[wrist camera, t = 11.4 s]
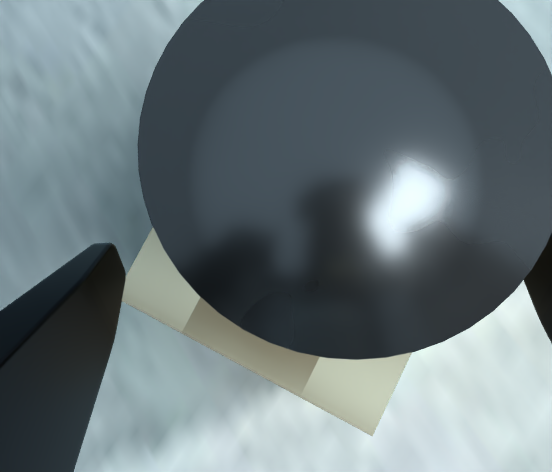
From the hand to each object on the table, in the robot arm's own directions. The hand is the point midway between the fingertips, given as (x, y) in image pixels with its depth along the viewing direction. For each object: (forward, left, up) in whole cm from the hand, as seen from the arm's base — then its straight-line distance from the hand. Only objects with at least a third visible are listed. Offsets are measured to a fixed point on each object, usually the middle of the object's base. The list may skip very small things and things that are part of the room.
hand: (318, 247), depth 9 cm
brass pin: (+1, 0, -8) cm, 8 cm away
